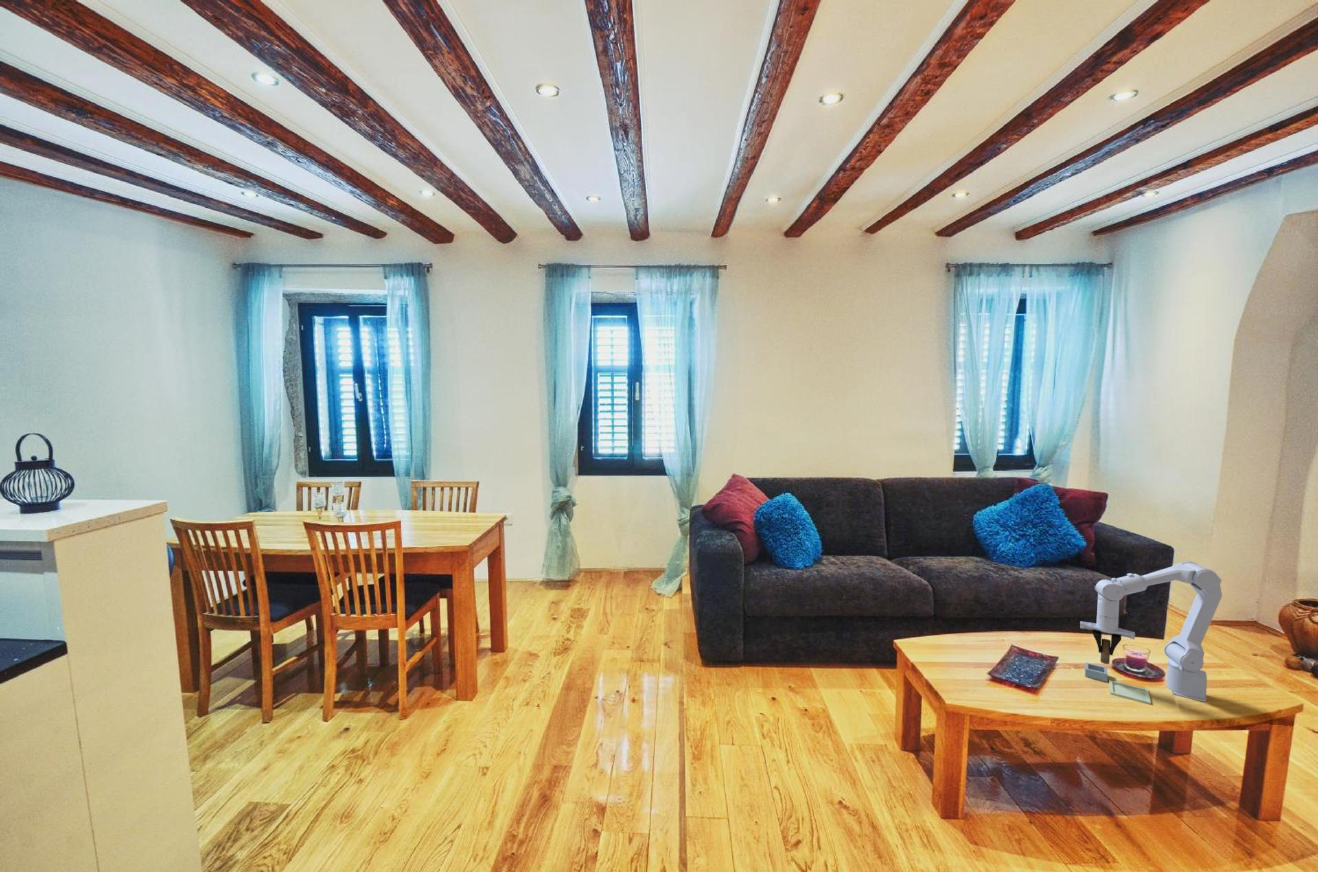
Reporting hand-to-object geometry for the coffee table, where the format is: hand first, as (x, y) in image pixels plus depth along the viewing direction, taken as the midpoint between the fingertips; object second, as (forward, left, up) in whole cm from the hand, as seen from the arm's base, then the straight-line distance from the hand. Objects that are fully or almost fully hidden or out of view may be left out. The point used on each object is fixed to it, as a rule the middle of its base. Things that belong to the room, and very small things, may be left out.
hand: (1105, 653), depth 186 cm
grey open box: (+2, -2, -10) cm, 11 cm away
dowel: (0, 0, -3) cm, 3 cm away
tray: (-6, +5, -10) cm, 13 cm away
